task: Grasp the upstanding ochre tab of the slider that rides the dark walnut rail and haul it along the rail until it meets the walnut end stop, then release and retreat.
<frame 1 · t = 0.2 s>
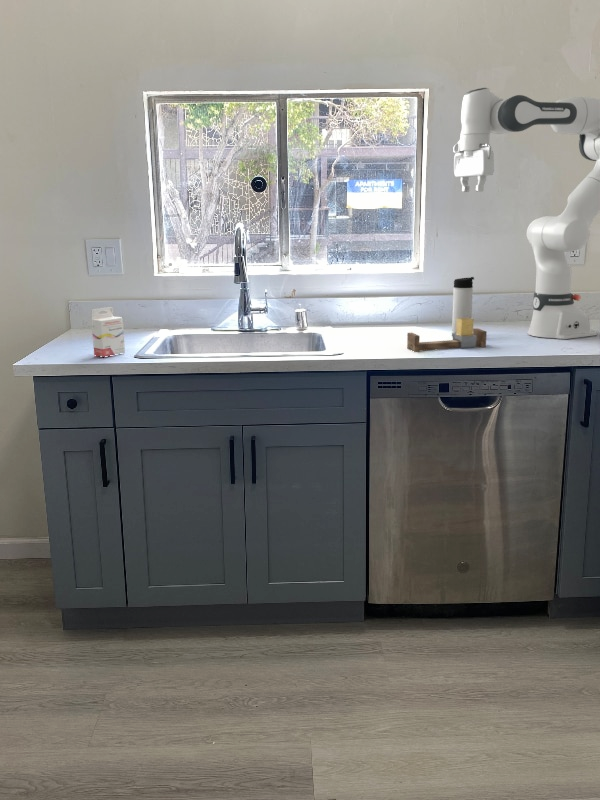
hand: (472, 191, 229), 47 cm above the worktop, fingers open, 8 cm apart
travel mug: (461, 337, 249), on the worktop
rail: (446, 347, 231), on the worktop
ink cartridge box: (110, 355, 230), on the worktop
slider: (464, 332, 231), point 5 cm above the worktop, slide at 0.0 cm
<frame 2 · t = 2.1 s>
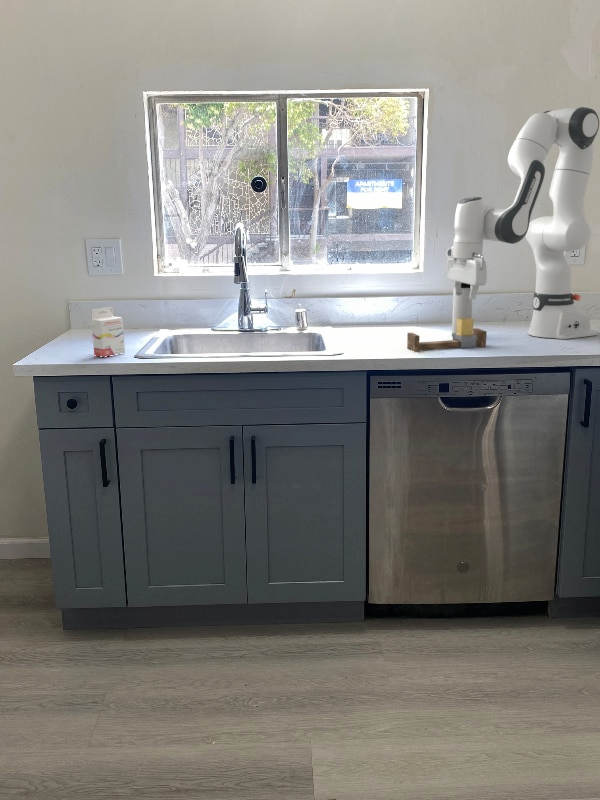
hand: (465, 297, 228), 16 cm above the worktop, fingers open, 8 cm apart
nothing on the worktop moved.
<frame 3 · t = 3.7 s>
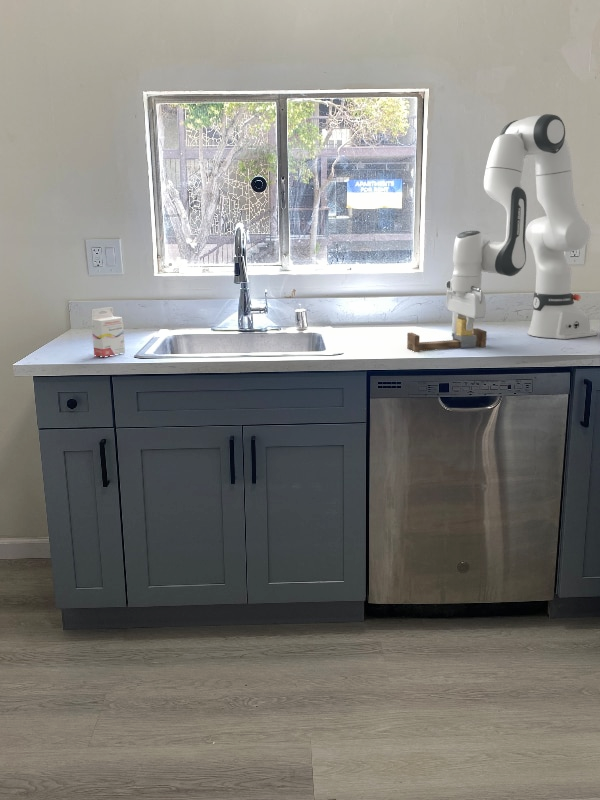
hand: (464, 329, 230), 6 cm above the worktop, fingers closed on slider, 3 cm apart
slider: (464, 332, 231), point 5 cm above the worktop, slide at 0.0 cm, touching gripper
everything else where it was.
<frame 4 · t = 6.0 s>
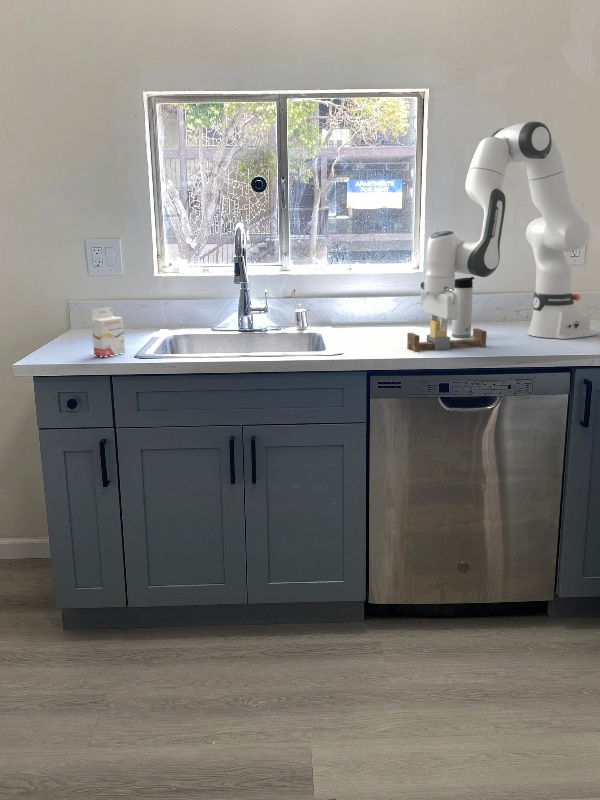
hand: (438, 330, 228), 6 cm above the worktop, fingers closed on slider, 3 cm apart
slider: (438, 333, 229), point 5 cm above the worktop, slide at 8.9 cm, touching gripper
everything else where it was.
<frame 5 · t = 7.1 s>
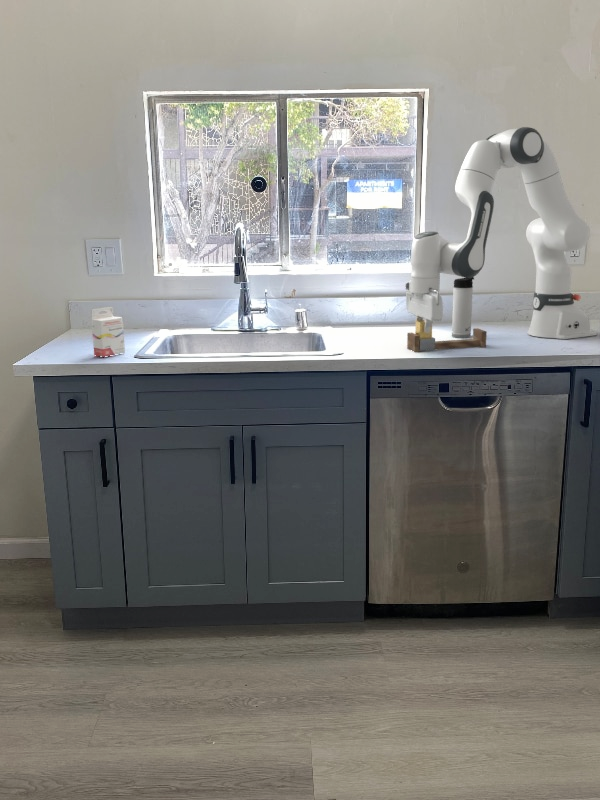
hand: (423, 331, 227), 6 cm above the worktop, fingers closed on slider, 3 cm apart
slider: (423, 334, 228), point 5 cm above the worktop, slide at 13.9 cm, touching gripper
everything else where it was.
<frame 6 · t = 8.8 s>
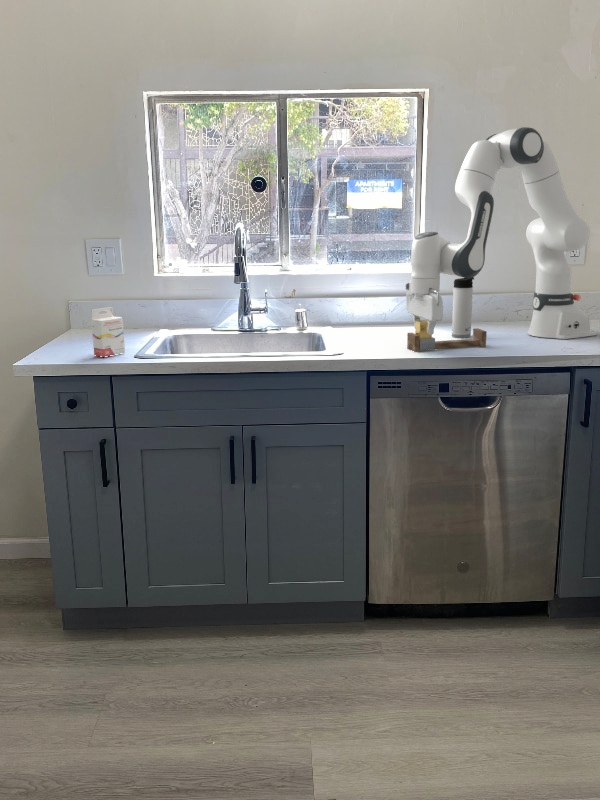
hand: (423, 331, 227), 6 cm above the worktop, fingers open, 8 cm apart
slider: (423, 334, 228), point 5 cm above the worktop, slide at 13.9 cm
everything else where it was.
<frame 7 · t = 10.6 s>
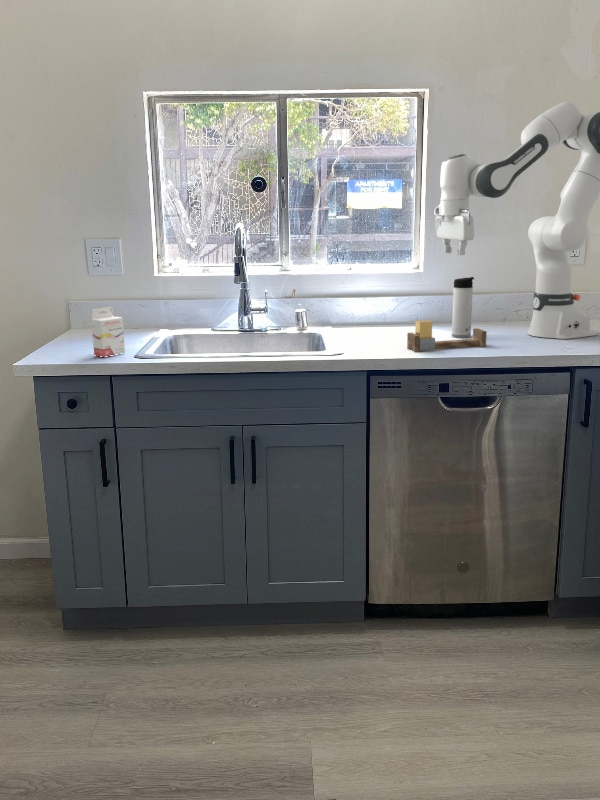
hand: (454, 254, 233), 28 cm above the worktop, fingers open, 8 cm apart
nothing on the worktop moved.
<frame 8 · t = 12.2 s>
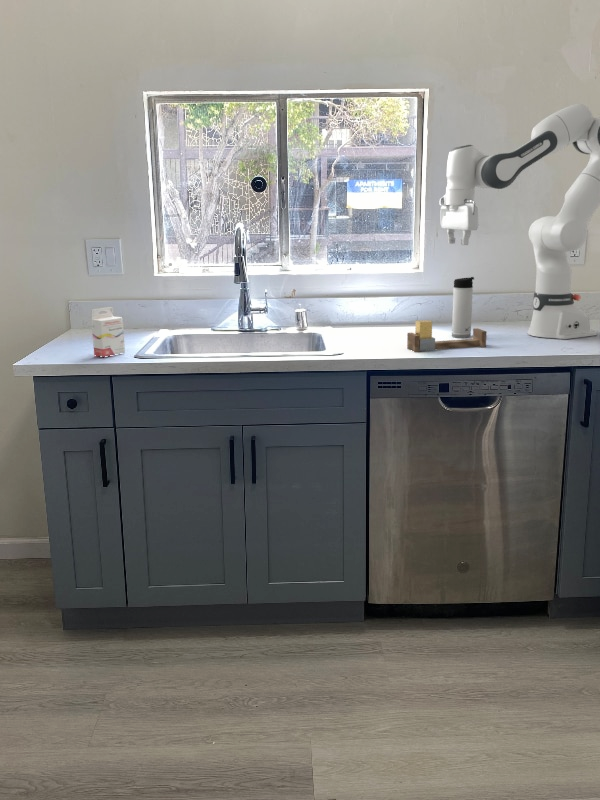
hand: (458, 244, 234), 31 cm above the worktop, fingers open, 8 cm apart
nothing on the worktop moved.
at the end: slider slide at 13.9 cm; the gripper is holding nothing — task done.
